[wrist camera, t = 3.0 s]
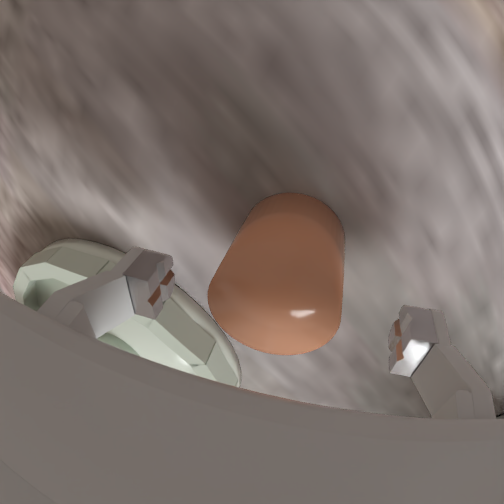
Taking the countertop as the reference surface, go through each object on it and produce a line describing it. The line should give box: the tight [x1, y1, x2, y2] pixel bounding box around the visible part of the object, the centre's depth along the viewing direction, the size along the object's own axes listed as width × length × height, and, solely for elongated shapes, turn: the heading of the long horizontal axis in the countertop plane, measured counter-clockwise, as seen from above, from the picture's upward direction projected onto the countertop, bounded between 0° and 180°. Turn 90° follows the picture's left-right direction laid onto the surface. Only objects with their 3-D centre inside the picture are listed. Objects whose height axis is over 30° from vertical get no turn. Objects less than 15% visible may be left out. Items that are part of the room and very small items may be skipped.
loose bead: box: [208, 193, 345, 355], centre depth 11 cm, size 4×4×4 cm
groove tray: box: [13, 239, 241, 388], centre depth 20 cm, size 17×17×2 cm
